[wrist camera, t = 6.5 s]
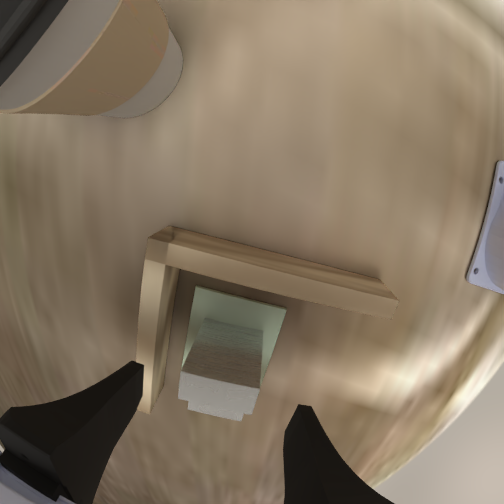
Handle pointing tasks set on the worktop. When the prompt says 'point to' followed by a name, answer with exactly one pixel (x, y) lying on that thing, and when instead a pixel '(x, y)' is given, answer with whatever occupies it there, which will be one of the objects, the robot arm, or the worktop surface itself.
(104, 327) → the worktop surface
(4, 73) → the coffee cup
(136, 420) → the worktop surface
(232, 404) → the block
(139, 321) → the wooden corner frame
